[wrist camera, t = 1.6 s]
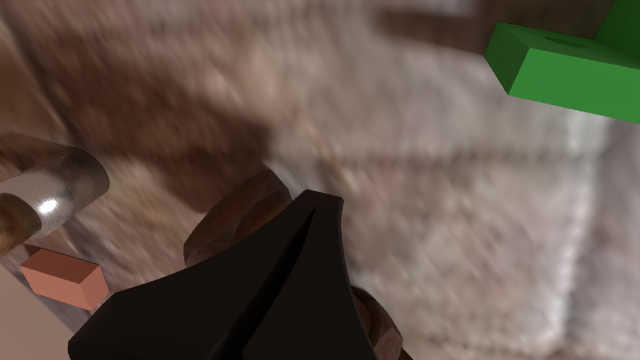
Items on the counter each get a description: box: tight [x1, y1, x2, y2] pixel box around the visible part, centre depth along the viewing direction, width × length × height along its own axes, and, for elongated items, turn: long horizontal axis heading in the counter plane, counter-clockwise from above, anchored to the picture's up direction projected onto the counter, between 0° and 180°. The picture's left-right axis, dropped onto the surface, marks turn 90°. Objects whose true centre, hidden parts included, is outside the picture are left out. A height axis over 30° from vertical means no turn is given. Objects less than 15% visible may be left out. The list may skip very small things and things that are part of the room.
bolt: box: [183, 172, 413, 360], centre depth 18 cm, size 6×5×15 cm
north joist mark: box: [19, 248, 109, 311], centre depth 26 cm, size 3×5×2 cm, turn 84°
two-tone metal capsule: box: [0, 148, 109, 258], centre depth 18 cm, size 3×3×6 cm
